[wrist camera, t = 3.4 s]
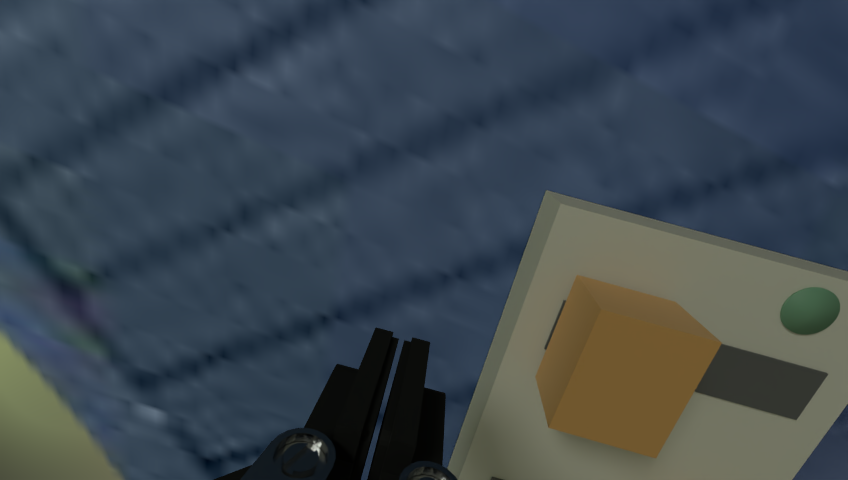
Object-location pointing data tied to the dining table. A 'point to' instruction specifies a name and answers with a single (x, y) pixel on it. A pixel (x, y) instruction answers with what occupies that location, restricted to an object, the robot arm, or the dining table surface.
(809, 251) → the dining table surface
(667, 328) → the tab
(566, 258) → the switch panel
